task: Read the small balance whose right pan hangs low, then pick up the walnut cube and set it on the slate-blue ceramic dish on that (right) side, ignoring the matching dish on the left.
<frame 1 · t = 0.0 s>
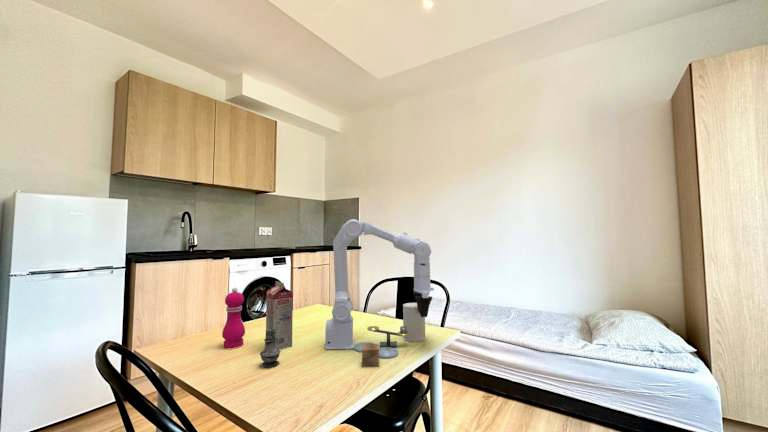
hand: (422, 314, 110), 10 cm above the table, fingers open, 5 cm apart
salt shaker: (270, 365, 93), on the table
pepper mill: (233, 346, 109), on the table
dish left: (365, 348, 106), on the table
dish right: (386, 353, 101), on the table
block: (370, 363, 94), on the table
balance: (388, 345, 108), on the table
cup: (414, 338, 116), on the table, touching gripper
juice carton: (278, 346, 108), on the table
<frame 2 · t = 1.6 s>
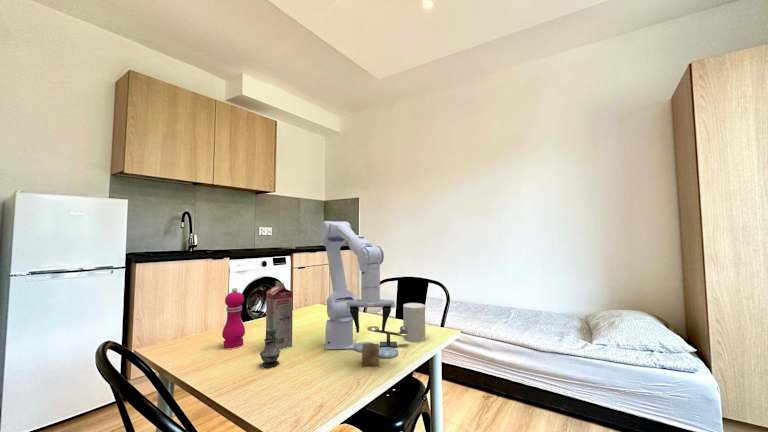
hand: (370, 331, 94), 9 cm above the table, fingers open, 7 cm apart
cup: (414, 338, 116), on the table
everything else where it was.
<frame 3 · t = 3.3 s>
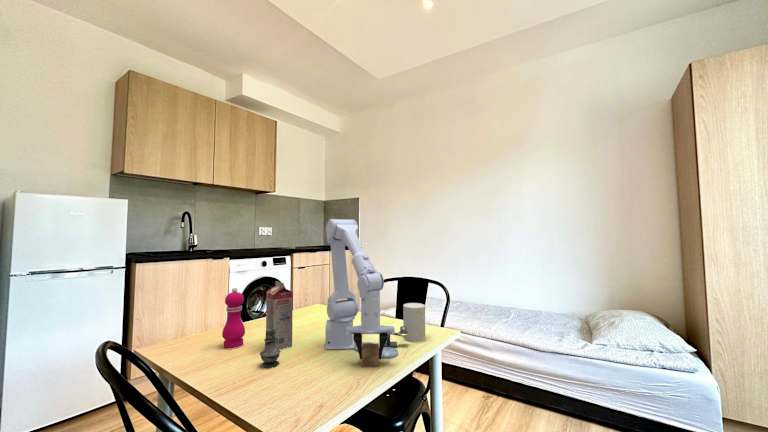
hand: (370, 358, 94), 1 cm above the table, fingers closed on block, 5 cm apart
block: (370, 363, 94), on the table, touching gripper
everything else where it was.
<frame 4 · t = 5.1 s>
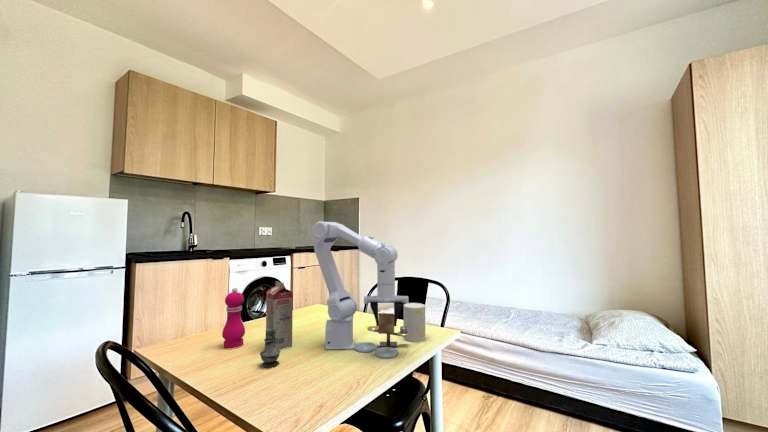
hand: (386, 325, 101), 9 cm above the table, fingers closed on block, 5 cm apart
block: (386, 331, 101), point 7 cm above the table, touching gripper
everything else where it was.
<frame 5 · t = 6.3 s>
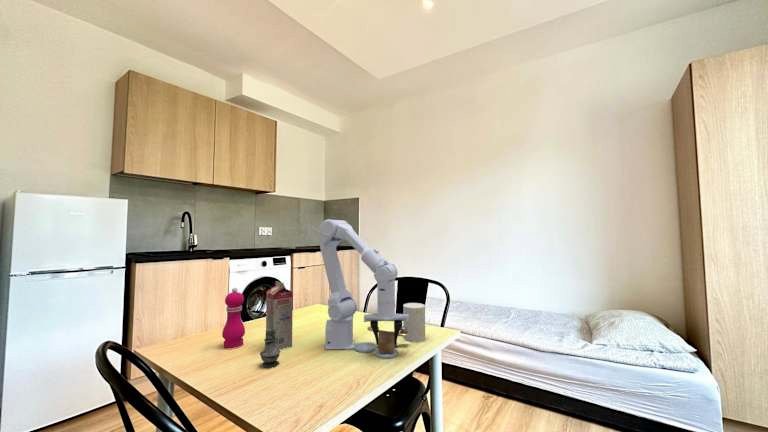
hand: (386, 343, 101), 3 cm above the table, fingers closed on block, 5 cm apart
block: (386, 349, 101), point 1 cm above the table, touching gripper
everything else where it was.
when the fingers open (3 cm above the table, at t = 7.0 s): block stays where it is, resting on dish right.
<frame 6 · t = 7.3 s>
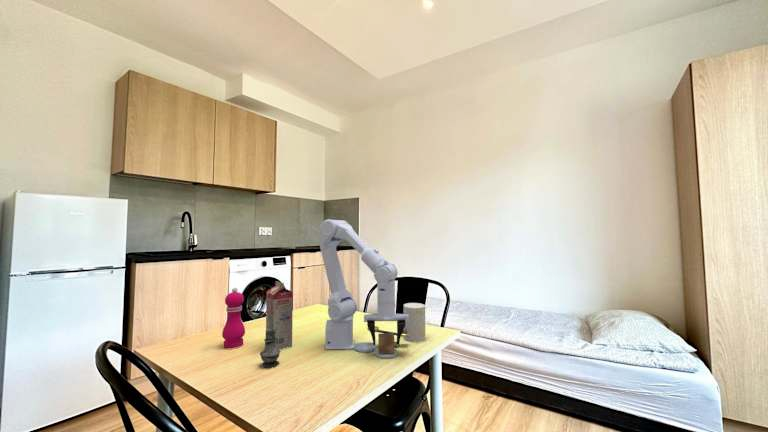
hand: (386, 343, 101), 3 cm above the table, fingers open, 7 cm apart
block: (386, 351, 101), point 1 cm above the table, touching dish right
everything else where it was.
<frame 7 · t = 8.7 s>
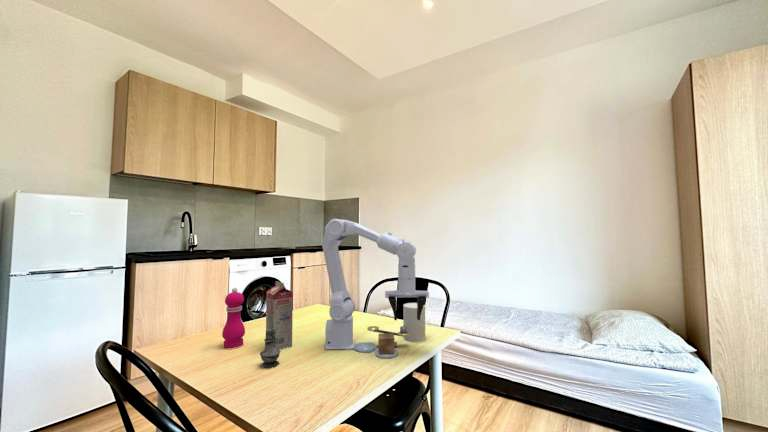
hand: (406, 319, 104), 10 cm above the table, fingers open, 7 cm apart
nothing on the table moved.
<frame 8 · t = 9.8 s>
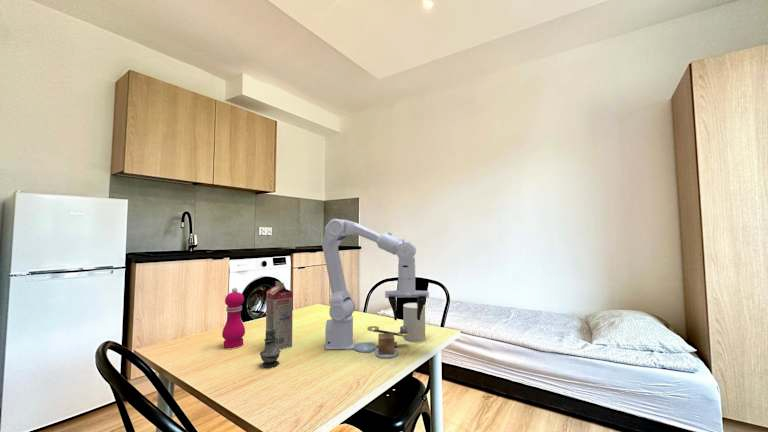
hand: (406, 319, 104), 10 cm above the table, fingers open, 7 cm apart
nothing on the table moved.
at the end: block inside the target area on the dish right (0.2 cm from its centre), point 0.8 cm above the dish right's base; block tilted 0°; the gripper is holding nothing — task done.
